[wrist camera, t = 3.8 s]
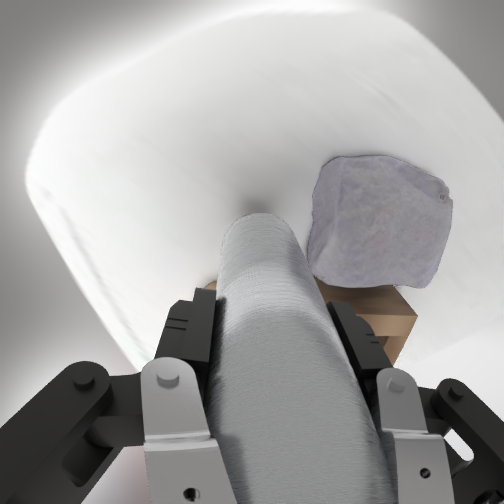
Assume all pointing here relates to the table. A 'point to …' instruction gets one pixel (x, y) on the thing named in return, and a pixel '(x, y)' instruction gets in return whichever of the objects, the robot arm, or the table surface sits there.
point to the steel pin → (285, 381)
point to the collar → (377, 312)
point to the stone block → (377, 223)
